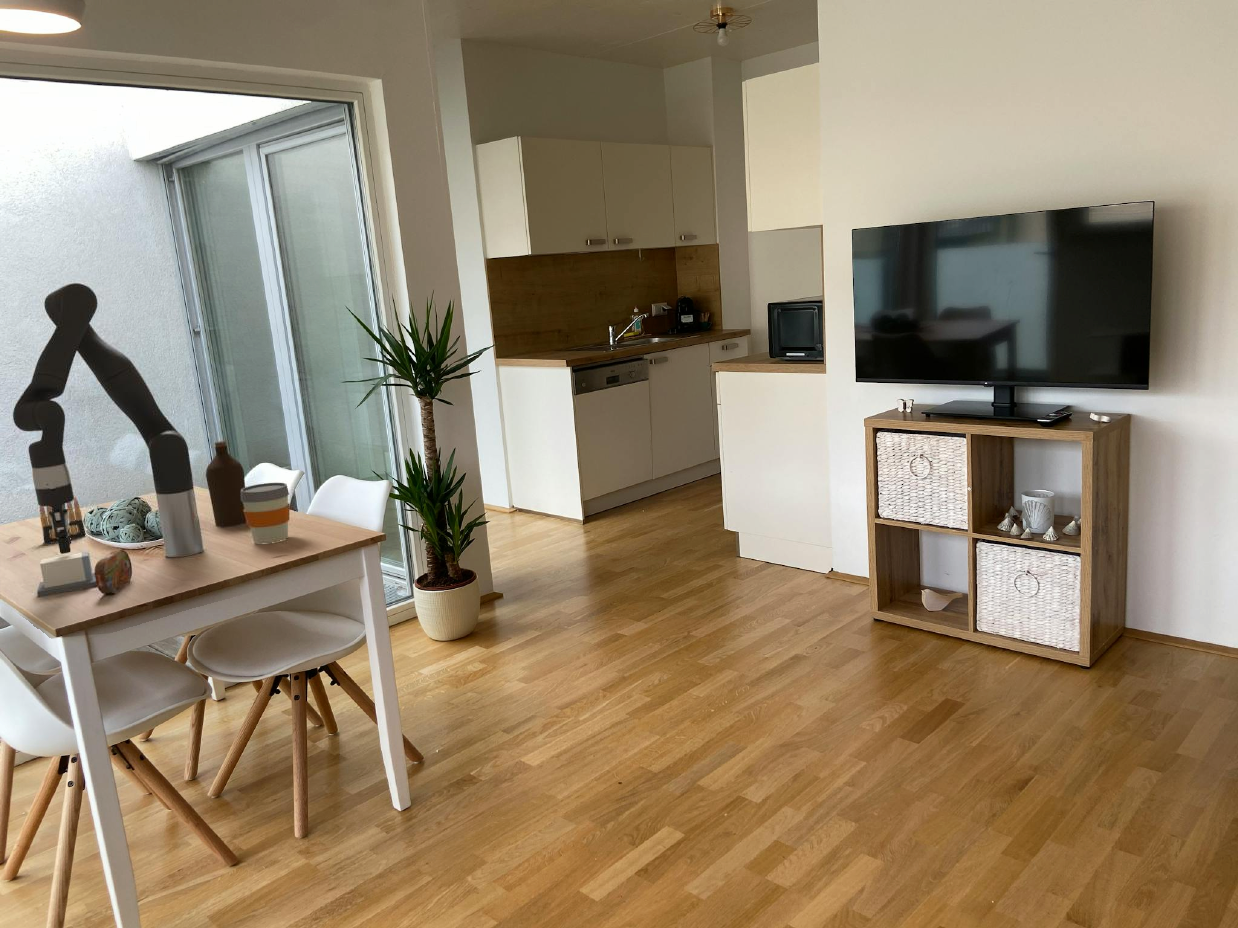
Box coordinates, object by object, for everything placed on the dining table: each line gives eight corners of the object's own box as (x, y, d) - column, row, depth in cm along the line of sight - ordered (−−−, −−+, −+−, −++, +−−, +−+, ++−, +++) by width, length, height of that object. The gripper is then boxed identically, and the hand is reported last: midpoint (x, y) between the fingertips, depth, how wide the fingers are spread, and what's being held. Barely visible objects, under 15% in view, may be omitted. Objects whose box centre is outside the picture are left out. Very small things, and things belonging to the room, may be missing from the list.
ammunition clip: (45, 543, 274) (37, 504, 272) (44, 542, 276) (36, 503, 274) (86, 536, 281) (79, 497, 278) (85, 535, 282) (78, 496, 280)
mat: (100, 576, 236) (99, 571, 236) (99, 585, 229) (99, 580, 228) (40, 586, 231) (39, 582, 230) (38, 596, 223) (37, 591, 223)
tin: (110, 597, 218) (104, 563, 217) (96, 599, 218) (89, 564, 217) (135, 578, 233) (129, 545, 232) (121, 579, 233) (116, 546, 231)
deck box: (46, 583, 229) (41, 559, 228) (92, 574, 234) (88, 551, 233) (44, 588, 225) (40, 563, 224) (92, 579, 230) (88, 555, 229)
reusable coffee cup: (237, 545, 258) (229, 492, 255) (265, 533, 270) (258, 482, 267) (276, 546, 255) (269, 492, 252) (303, 533, 266) (296, 482, 264)
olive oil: (236, 527, 280) (224, 444, 275) (205, 527, 282) (193, 445, 278) (257, 518, 290) (246, 438, 285) (228, 518, 292) (216, 438, 288)
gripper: (36, 482, 229) (49, 546, 232) (33, 491, 216) (47, 558, 220) (71, 476, 232) (83, 540, 235) (70, 485, 220) (83, 552, 223)
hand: (66, 549), depth 227 cm, fingers open, 8 cm apart
